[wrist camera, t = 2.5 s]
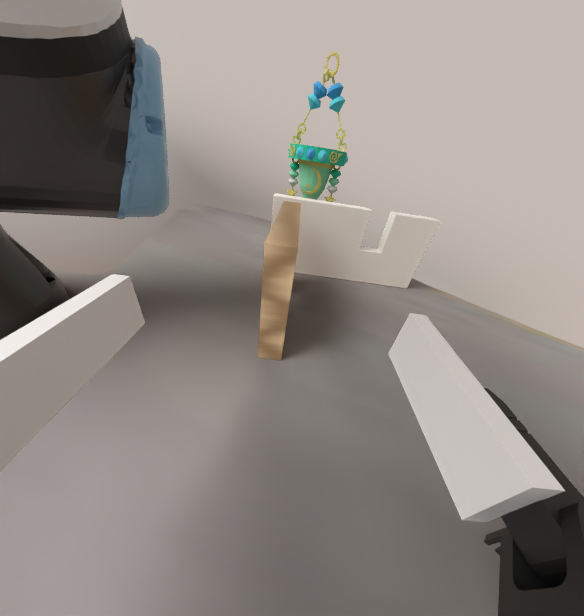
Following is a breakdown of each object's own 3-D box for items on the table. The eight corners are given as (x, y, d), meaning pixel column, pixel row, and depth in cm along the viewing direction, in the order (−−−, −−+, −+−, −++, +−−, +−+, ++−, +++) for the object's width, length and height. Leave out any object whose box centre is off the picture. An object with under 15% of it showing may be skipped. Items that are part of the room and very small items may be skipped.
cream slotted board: (268, 268, 39) (273, 195, 32) (269, 263, 41) (275, 193, 34) (406, 288, 40) (440, 221, 33) (401, 282, 42) (433, 218, 35)
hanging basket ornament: (269, 254, 44) (285, 29, 27) (286, 240, 53) (307, 63, 36) (320, 267, 43) (373, 34, 25) (329, 250, 51) (373, 68, 34)
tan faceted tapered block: (257, 357, 22) (264, 243, 15) (276, 277, 37) (284, 200, 30) (280, 360, 22) (297, 248, 15) (290, 279, 37) (301, 203, 30)
